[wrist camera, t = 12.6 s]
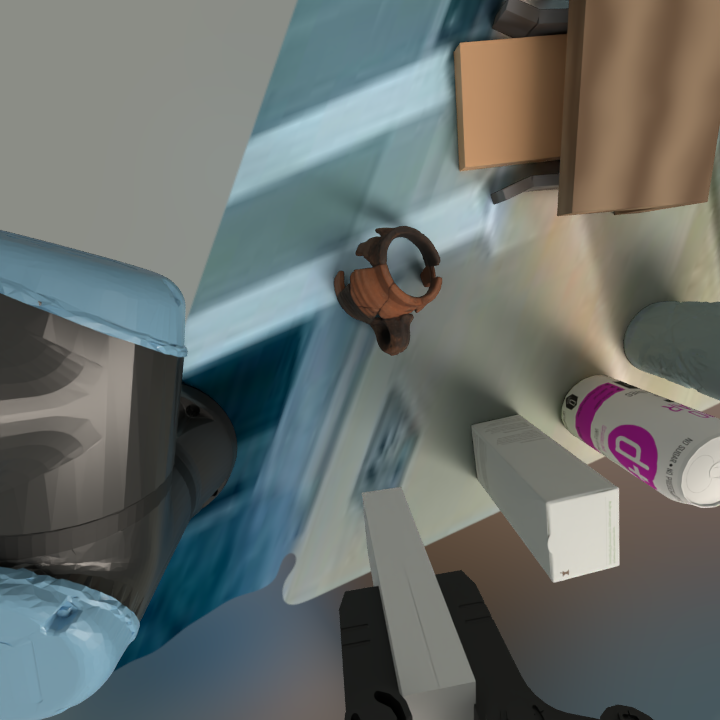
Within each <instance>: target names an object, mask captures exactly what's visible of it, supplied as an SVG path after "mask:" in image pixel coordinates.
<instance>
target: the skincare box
mask: <svg viewBox="0 0 720 720" xmlns="http://www.w3.org/2000/svg"><path fill="white" fill-rule="evenodd" d="M471 428H472V437H473V446H474V454H475V463H476V471H477V478H478V481H479V482H480V484H481V485H482V486H483V488H484V489H485V490H486V492H487V493H488V494H489V496H490V497H491V498H492V500H493V501H494V502H495V504H496V505H497V507H498V508H499V509H500V511H501V512H502V513H503V515H504V516H505V517H506V519H507V520H508V521H509V523H510V524H511V525H512V527H513V528H514V529H515V531H516V532H517V533H518V535H519V536H520V537H521V539H522V540H523V541H524V543H525V544H526V546H527V547H528V548H529V550H530V551H531V553H532V554H533V555H534V557H535V558H536V559H537V561H538V562H539V563H540V565H541V566H542V568H543V569H544V570H545V571H546V573H547V574H548V576H549V577H550V579H551V580H552V582H558V581H562V580H566V579H569V578H573V577H577V576H581V575H584V574H588V573H592V572H596V571H601V570H604V569H608V568H612V567H616V566H619V488H618V487H616V486H615V485H614V484H612V483H611V482H610V481H608V480H607V479H605V478H604V477H603V476H601V475H600V474H599V473H597V472H596V471H595V470H593V469H592V468H591V467H589V466H588V465H587V464H585V463H584V462H583V461H581V460H580V459H578V458H577V457H576V456H574V455H573V454H572V453H570V452H569V451H568V450H566V449H565V448H564V447H562V446H561V445H560V444H558V443H557V442H555V441H554V440H553V439H551V438H550V437H549V436H547V435H546V434H545V433H543V432H542V431H541V430H539V429H538V428H536V427H535V426H534V425H532V424H531V423H530V422H528V421H527V420H526V419H524V418H523V417H522V416H520V415H514V416H510V417H505V418H501V419H496V420H492V421H487V422H483V423H478V424H474V425H471Z"/></svg>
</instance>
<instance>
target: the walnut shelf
mask: <svg viewBox="0 0 720 720" xmlns="http://www.w3.org/2000/svg"><path fill="white" fill-rule="evenodd" d="M492 29H495V30H497V31H499V32H502V33H504V34H506V35H509V36H511V37H513V38H523V37H535V36H546V35H558V34H567V48H566V66H565V84H564V102H563V120H562V138H561V156H560V174H549V175H535V176H530V177H528V178H525V179H523V180H520V181H518V182H516V183H514V184H512V185H510V186H508V187H506V188H504V189H501V190H499V191H497V192H495V193H493V194H491V198H492V201H493V204H496V203H499V202H502V201H505V200H507V199H510V198H512V197H514V196H516V195H518V194H520V193H522V192H527V191H540V190H553V189H559V193H558V211H557V216H564V215H576V214H588V213H600V212H612V211H615V212H614V215H619V214H631V213H641V212H648V211H654V210H660V209H666V208H672V207H678V206H685V205H691V204H697V203H703V202H707V201H708V195H709V188H710V182H711V176H712V169H713V163H714V157H715V150H716V144H717V138H718V131H719V125H720V0H569V9H538V8H536V7H533V6H531V5H529V4H527V3H525V2H522V1H520V0H507V1H506V2H505V4H504V5H503V6H502V8H501V9H500V11H499V12H498V13H497V15H496V17H495V20H494V24H493V27H492Z"/></svg>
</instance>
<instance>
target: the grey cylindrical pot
mask: <svg viewBox="0 0 720 720" xmlns="http://www.w3.org/2000/svg"><path fill="white" fill-rule="evenodd" d="M623 341H624V349H625V354H626V356H627V358H628V360H629V361H630V363H631V364H632V365H633V366H635V367H636V368H638V369H640V370H642V371H644V372H647V373H650V374H653V375H656V376H659V377H661V378H665V379H667V380H669V381H671V382H674V383H676V384H679V385H682V386H684V387H686V388H694V389H696V390H697V391H698V392H700V393H702V394H704V395H707V396H710V397H712V398H714V399H717V400H720V302H713V303H708V302H682V303H680V302H677V301H665V302H658V303H654V304H651V305H649V306H647V307H645V308H644V309H643V310H641V311H640V312H639V313H638V314H637V315H636V316H635V317H634V318H633V320H632V321H631V323H630V324H629V326H628V328H627V331H626V334H625V339H624V340H623Z"/></svg>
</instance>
